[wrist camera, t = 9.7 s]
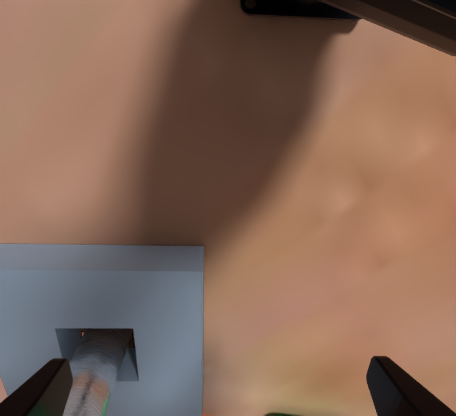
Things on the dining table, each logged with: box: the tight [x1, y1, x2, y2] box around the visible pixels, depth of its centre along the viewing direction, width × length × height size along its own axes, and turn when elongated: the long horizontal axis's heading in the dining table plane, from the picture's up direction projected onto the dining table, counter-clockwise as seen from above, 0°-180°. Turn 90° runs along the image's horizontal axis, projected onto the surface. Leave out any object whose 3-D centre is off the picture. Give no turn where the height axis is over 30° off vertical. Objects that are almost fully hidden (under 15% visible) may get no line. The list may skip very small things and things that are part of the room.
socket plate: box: [0, 244, 204, 416], centre depth 22 cm, size 14×14×3 cm
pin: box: [63, 328, 133, 416], centre depth 19 cm, size 3×3×10 cm
